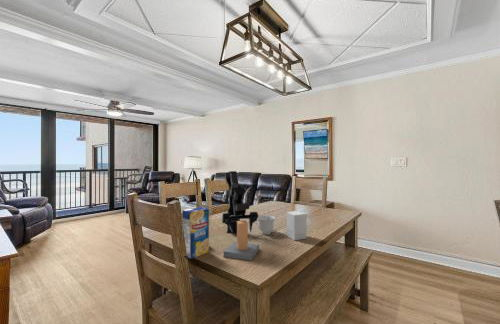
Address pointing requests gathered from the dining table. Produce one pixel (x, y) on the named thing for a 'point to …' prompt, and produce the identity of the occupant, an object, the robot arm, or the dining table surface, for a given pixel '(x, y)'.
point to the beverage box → (196, 231)
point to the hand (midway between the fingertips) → (242, 232)
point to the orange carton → (242, 235)
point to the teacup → (266, 223)
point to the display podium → (241, 251)
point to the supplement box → (296, 225)
